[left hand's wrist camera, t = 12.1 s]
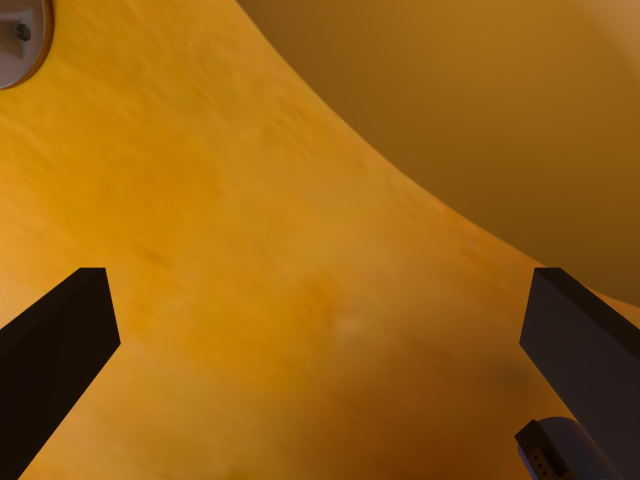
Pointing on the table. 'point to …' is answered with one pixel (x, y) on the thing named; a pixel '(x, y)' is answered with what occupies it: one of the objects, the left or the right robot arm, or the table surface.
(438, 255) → the table surface
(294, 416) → the table surface
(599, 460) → the cylinder
